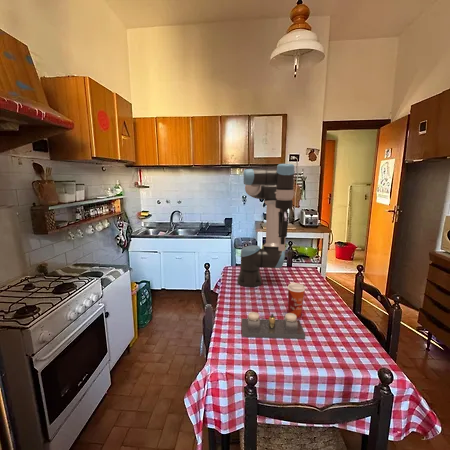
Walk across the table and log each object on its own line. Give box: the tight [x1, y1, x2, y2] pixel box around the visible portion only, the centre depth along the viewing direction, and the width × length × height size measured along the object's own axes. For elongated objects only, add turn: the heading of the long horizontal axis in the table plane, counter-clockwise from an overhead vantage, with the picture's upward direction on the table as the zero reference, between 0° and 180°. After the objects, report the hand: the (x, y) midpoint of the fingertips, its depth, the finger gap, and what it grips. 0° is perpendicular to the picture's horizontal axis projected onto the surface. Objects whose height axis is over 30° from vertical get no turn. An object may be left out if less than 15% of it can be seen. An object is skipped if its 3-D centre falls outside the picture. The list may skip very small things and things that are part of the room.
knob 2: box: [284, 313, 298, 322], centre depth 115 cm, size 5×5×5 cm
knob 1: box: [247, 311, 260, 321], centre depth 115 cm, size 5×5×5 cm
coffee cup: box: [287, 282, 306, 319], centre depth 128 cm, size 8×8×15 cm
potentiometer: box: [268, 313, 276, 328], centre depth 115 cm, size 3×3×6 cm
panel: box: [241, 316, 306, 340], centre depth 115 cm, size 11×26×5 cm, turn 88°
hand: (281, 250), depth 123 cm, fingers closed
